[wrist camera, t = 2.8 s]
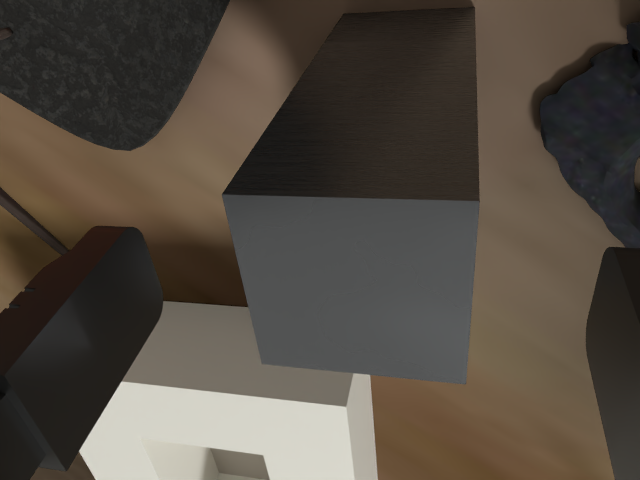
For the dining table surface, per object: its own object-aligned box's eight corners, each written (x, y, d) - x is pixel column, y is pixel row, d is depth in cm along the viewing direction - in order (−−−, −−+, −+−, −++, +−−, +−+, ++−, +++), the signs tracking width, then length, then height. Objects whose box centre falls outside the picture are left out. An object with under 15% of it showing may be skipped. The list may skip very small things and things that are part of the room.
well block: (365, 315, 25) (346, 407, 21) (380, 523, 35) (369, 610, 32) (92, 295, 28) (31, 371, 24) (179, 491, 39) (146, 566, 35)
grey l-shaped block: (474, 6, 17) (479, 201, 8) (462, 227, 21) (457, 501, 13) (343, 13, 18) (222, 194, 9) (359, 223, 22) (288, 476, 14)
